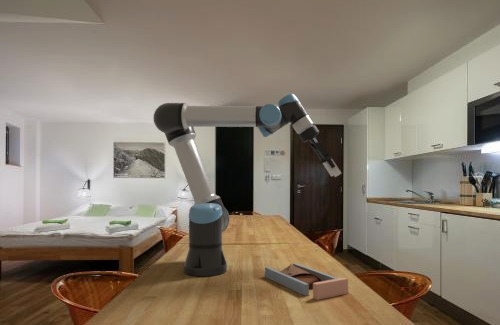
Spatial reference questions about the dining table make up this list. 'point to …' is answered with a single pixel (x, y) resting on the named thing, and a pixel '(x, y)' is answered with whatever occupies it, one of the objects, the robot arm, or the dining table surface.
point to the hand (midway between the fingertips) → (336, 175)
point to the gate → (330, 288)
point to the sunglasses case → (301, 275)
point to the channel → (295, 283)
